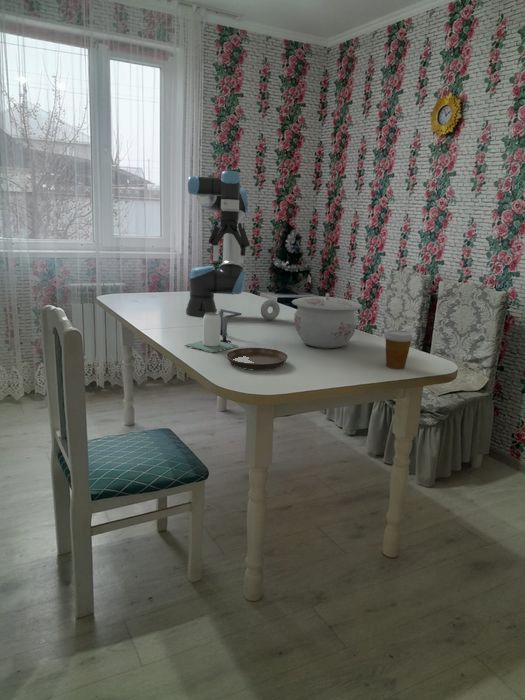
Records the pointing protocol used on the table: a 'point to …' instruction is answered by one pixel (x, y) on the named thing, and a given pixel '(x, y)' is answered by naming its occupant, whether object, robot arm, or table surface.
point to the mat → (213, 349)
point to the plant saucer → (258, 358)
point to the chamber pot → (325, 321)
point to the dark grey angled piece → (225, 323)
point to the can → (211, 329)
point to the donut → (265, 309)
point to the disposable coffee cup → (397, 348)
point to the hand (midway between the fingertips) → (228, 262)
